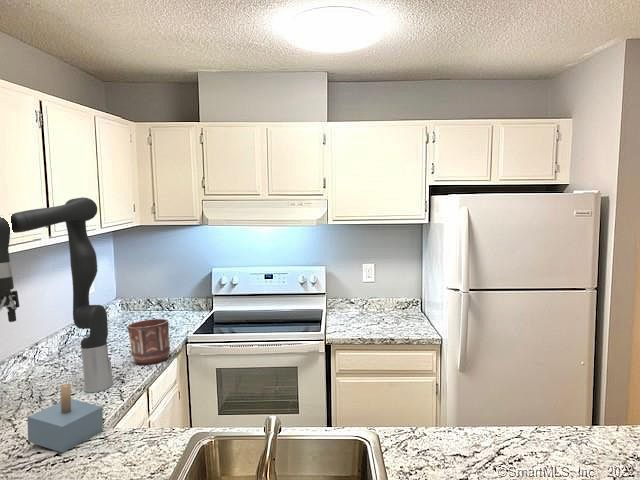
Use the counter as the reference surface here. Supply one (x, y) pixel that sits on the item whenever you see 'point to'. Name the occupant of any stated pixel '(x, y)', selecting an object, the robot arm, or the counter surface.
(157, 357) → the pottery
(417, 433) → the counter surface
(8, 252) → the robot arm
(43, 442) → the cover
